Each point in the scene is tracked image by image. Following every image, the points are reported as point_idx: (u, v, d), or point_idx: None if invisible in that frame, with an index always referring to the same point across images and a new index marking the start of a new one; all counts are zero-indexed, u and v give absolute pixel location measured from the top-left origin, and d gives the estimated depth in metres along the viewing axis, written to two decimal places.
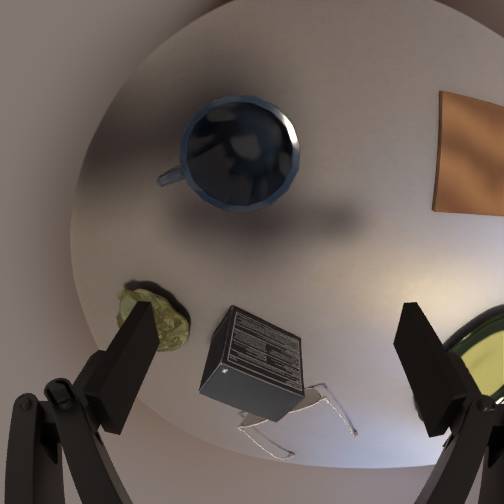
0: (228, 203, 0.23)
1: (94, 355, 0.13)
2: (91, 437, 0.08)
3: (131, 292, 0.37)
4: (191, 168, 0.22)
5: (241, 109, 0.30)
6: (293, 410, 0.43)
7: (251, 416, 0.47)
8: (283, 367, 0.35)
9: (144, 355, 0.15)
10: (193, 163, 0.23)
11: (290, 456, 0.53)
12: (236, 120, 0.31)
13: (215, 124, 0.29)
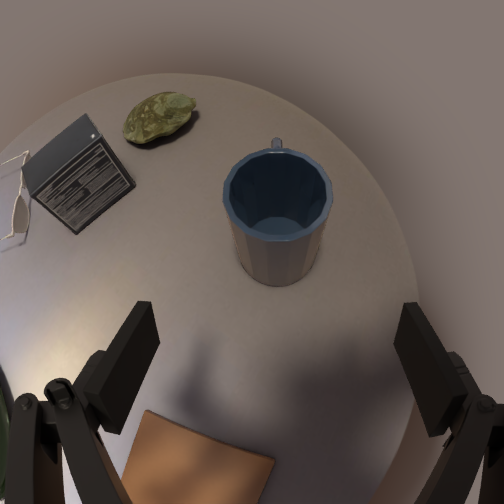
0: (238, 172, 0.25)
1: (94, 355, 0.13)
2: (91, 437, 0.08)
3: (191, 108, 0.40)
4: (279, 157, 0.26)
5: None
6: (16, 201, 0.36)
7: None
8: (64, 194, 0.32)
9: (144, 355, 0.15)
10: (282, 164, 0.27)
11: None
12: None
13: (305, 217, 0.33)
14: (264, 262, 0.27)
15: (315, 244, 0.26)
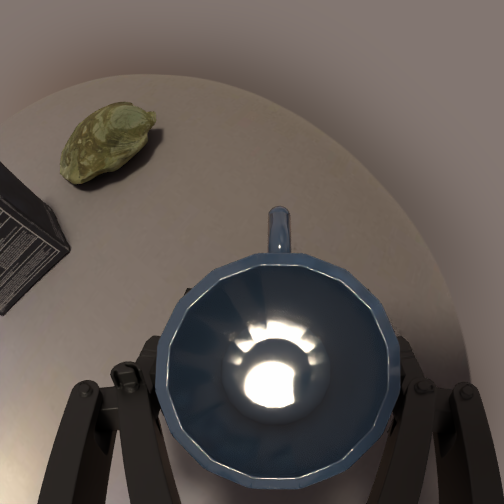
0: (189, 314, 0.11)
1: (149, 341, 0.14)
2: (152, 425, 0.09)
3: (146, 128, 0.26)
4: (284, 272, 0.12)
5: (328, 375, 0.20)
6: None
7: None
8: None
9: None
10: (290, 279, 0.13)
11: None
12: (314, 363, 0.20)
13: (324, 334, 0.19)
14: None
15: None
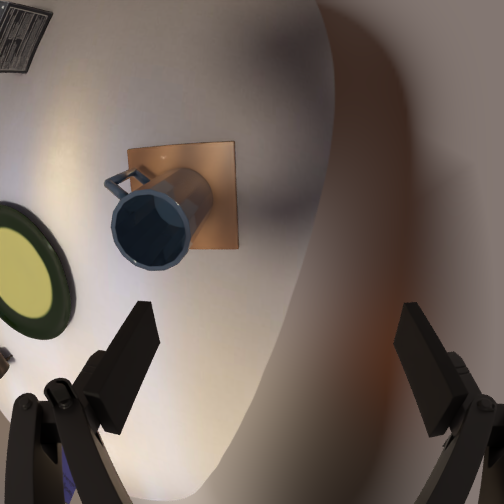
0: (120, 240, 0.31)
1: (94, 355, 0.13)
2: (91, 437, 0.08)
3: None
4: (124, 205, 0.29)
5: None
6: None
7: None
8: (3, 54, 0.27)
9: (144, 355, 0.15)
10: (129, 200, 0.30)
11: None
12: None
13: None
14: None
15: (198, 213, 0.33)
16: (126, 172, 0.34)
